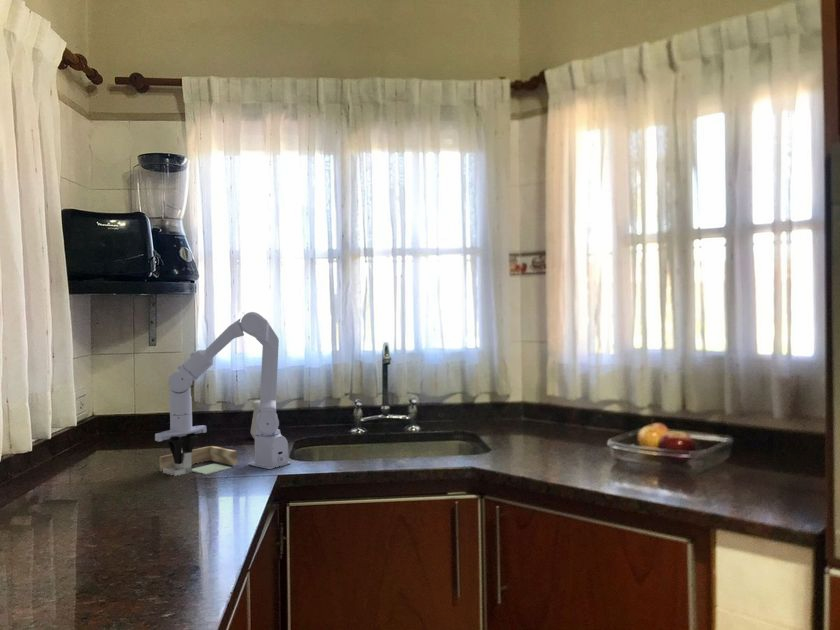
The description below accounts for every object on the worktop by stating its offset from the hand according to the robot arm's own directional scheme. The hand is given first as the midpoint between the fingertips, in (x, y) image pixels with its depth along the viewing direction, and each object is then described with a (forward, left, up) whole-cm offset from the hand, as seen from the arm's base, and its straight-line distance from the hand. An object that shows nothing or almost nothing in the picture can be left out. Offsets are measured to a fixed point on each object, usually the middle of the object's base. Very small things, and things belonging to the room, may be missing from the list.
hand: (182, 462), depth 174 cm
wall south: (-1, -13, -2) cm, 13 cm away
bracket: (0, +1, -2) cm, 3 cm away
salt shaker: (+18, -41, -3) cm, 44 cm away
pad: (-5, -6, -2) cm, 8 cm away
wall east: (+5, -5, -2) cm, 7 cm away
